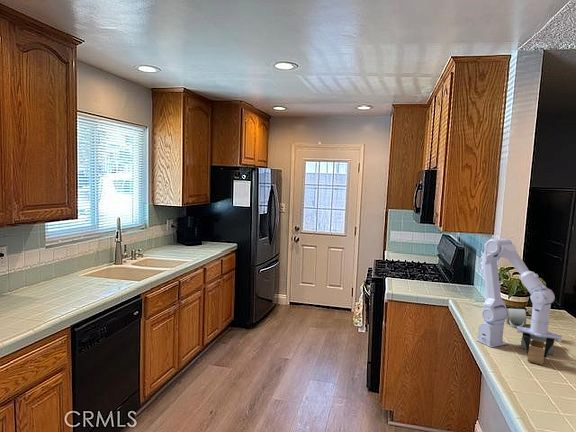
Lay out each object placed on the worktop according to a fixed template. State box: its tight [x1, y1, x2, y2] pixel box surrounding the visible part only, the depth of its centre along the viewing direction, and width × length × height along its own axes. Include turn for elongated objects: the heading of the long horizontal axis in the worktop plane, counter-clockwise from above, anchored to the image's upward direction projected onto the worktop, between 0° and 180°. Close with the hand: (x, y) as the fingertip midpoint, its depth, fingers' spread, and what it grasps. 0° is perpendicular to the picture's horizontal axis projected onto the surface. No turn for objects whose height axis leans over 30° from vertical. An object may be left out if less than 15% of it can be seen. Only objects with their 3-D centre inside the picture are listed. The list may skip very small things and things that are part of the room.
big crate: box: [520, 334, 555, 356], centre depth 172 cm, size 13×11×4 cm
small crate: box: [527, 339, 546, 366], centre depth 158 cm, size 9×5×6 cm, turn 146°
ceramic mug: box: [505, 308, 527, 329], centre depth 197 cm, size 11×8×8 cm
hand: (536, 354), depth 158 cm, fingers closed on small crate, 5 cm apart
